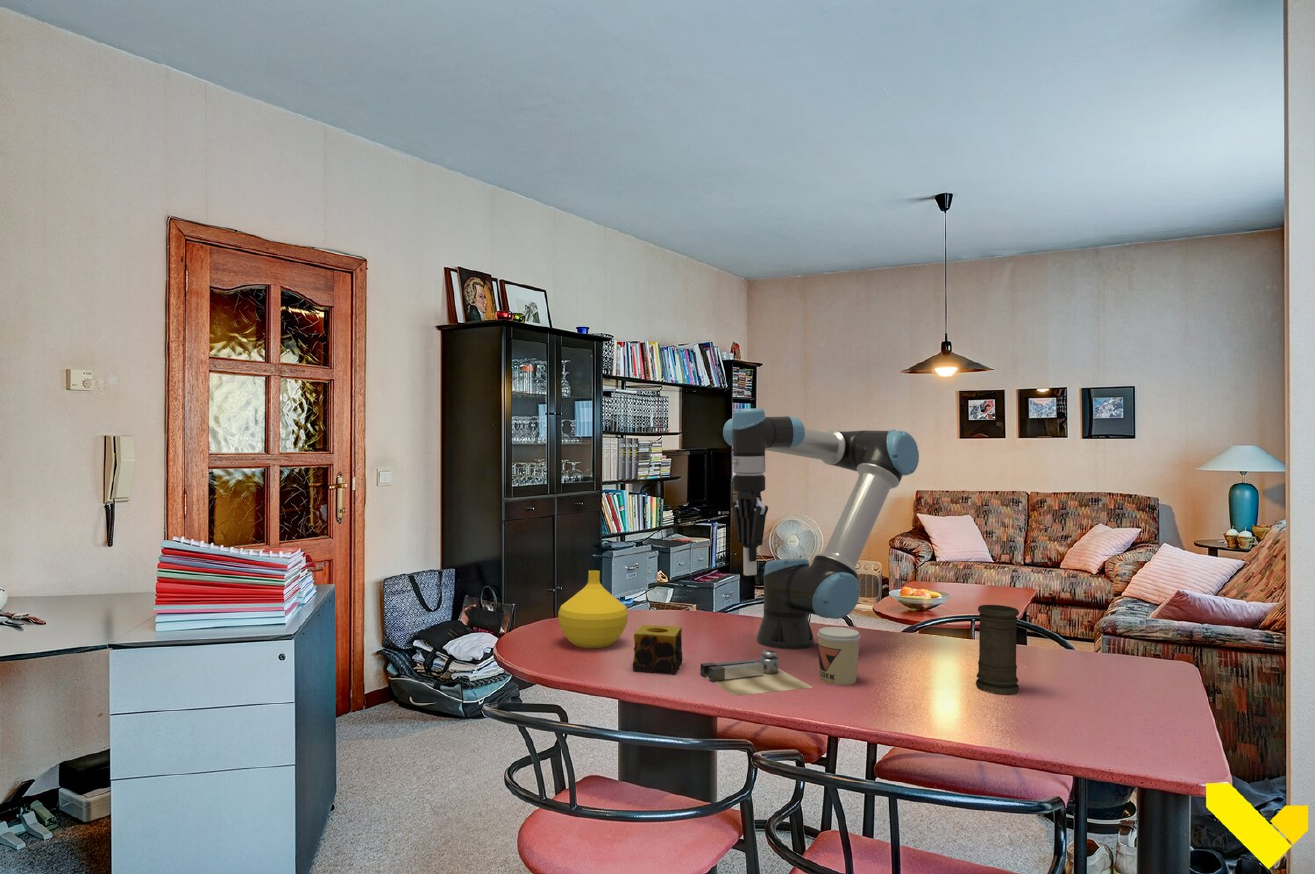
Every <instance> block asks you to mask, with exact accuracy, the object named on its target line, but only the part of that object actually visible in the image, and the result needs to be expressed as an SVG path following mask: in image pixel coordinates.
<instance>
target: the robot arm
mask: <svg viewBox="0 0 1315 874" xmlns="http://www.w3.org/2000/svg"><path fill="white" fill-rule="evenodd" d="M722 437H723V439H724V441H725V442H726V444H728V446H731V447H732V456H733V457H732V462H731V463H732V465H733V466H732V472H733V473H734V474H735V475H733V476H732V477H733V478H732V484H733V485H732V487H733V489H732V490H733V491H734V492H737V498H736V499H737V500H736V501H732V502H731V506H732V511H733V514H734V521H735V524H734V525H735V531H736V532H735V533H736V537H737V543H739V544H741V546H742V548H743V549H742V552H743V553H742V554H743V555H742V556H743V564H742V565H743V572H742V573H743V576H747V577H748V576H756V575H757V572H758V567H757V566H758V565H757V562H758V561H757V558H758V556H757V555H758V552H757V551H758V550H757V548H758V547H759V546H762V545H763V542H764V536H765V535H764V533H765V525H766V519H767V517H766V516H767V513H768V511H769V506H768V505H764V504H763V503H762V501H763V500H762V499H763V498H762V495H761V493H762V492H764V491H765V490H766V476H765V472H766V451H769V452H774V453H780V454H785V455H791V456H793V455H794V456H797V457H804V458H810V459H816V460H821V461H822V462H823V463H824V464H825V465H828V466H832V467H833V466H835V467H838V468H842V469H846V470H849V471H854V472H857V474H858V477H857V480H856V483H855V484H854V486H853V489H852V491H851V492H850V495H849V497H848V500H847V501H846V504H845V506H844V509H843V510H842V512H841V515H840V516H839V519H838V521H837V522H836V526H835V528H834V529H833V532H832V534H831V536H830V538H829V540H828V542H827V545H826V547H825V549H824V551H823V552H822V553H819V554H816V555H815V556H814V558H813V560H812V562H811V565H810V563H809V559H807V558H786V559H785V558H784V559H783V558H782V559H771V560H768V561H767V562H766V563H765V565H764V571H763V572H764V573H763V616H762V619H761V623H760V625H759V627H758V631H757V634H756V643H758V644H759V645H761V646H764V647H768V648H774V649H781V650H804V649H808V648H812V647H814V645H815V638H814V633H813V631H812V627H811V624H810V621H809V614H811V615H815V616H819V617H821V618H825V619H833V620H839V619H842V618H845V617H847V616H848V615H850V614H851V613H852V612H853V611H854V610H855V608H856V606H857V605H858V602H859V599H860V595H861V594H860V593H861V592H859V591H860V589H861V587H860V583H859V580H858V577H859V574H858V573H859V572H858V571H857V569H856V567H857V564H858V562H859V559H860V557H861V556H862V554H863V551H864V549H865V545H866V544H867V541H868V540H869V537H870V535H871V534H872V533H871V532H872V530H873V528H874V526H875V524H876V521H877V519H878V517H879V514H880V512H881V510H882V508H883V506H884V504H885V501H886V499H887V497H888V495H889V493H890V490H892V489H894V488H898V487H899V485H900V482H901V480H902V478H903V476H908V475H911V474H914V472H915V471H916V470H917V468H918V465H919V462H920V461H919V460H920V453H919V449H918V448H919V447H918V443H917V441H916V440H915V438H914V437H913V436H912V435H911V434H910V433H909V432H907V431H904V430H896V429H890V430H853V431H852V430H848V431H847V430H846V431H839V430H832V429H831V430H828V431H826V432H825V431H820V430H813V429H809V428H806V427H805V424H804V423H803V421H802V420H801V419H800V418H798V417H796V416H790V415H787V416H766V413H765V410H764V408H737V409H735V410H734V411H733V413H732V418H730V419H728V420H727V421H726V422H725V424H724V426H723V430H722Z"/></svg>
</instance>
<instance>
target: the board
mask: <svg viewBox="0 0 1315 874" xmlns="http://www.w3.org/2000/svg"><path fill="white" fill-rule="evenodd" d="M706 678H707V679H708V677H706ZM708 680H710V679H708ZM710 681H711V682H712V683H714V684H716V685H717V686H718V687H720V688H722V689H723V690H724V691H726V692H727V693H729V694H731V696H733V697H736V696H737V697H738V696H748V695H756V694H767V693H775V692H776V693H777V692H785V691H795V690H797V691H798V690H805V689H813V688H814V687H813V686H812V685H809V684H807V683H805V682H804V681H802V680H801V679H799V678H797V677H794V676H793V675H791V674H790V673H787V672H785V671H784V670H782V669H780V668H778V674H774V675H767V674H763V675H758V676H750V677H741V678H733V679H725V680H717V681H712V680H710Z"/></svg>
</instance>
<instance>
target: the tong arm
mask: <svg viewBox="0 0 1315 874" xmlns="http://www.w3.org/2000/svg"><path fill="white" fill-rule="evenodd" d="M761 656H763V657H766V658H774V657H777V654H776V651H775V650H771V649H768V650H767V649H765V650H762V655H761ZM763 667H764V664H762V663H760V662H756V663H747V664H738V665H729V666H715V667H709V674H708V678H707V679H708V680H709V679H710V681H711V680H712V681H717V680H725V679H733V678H741V677H750V676H758V675H763ZM712 681H711V682H712Z"/></svg>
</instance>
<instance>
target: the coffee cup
mask: <svg viewBox="0 0 1315 874" xmlns="http://www.w3.org/2000/svg"><path fill="white" fill-rule="evenodd" d="M860 639H861V635H860V632H859V631H858V630H856V629H852V628H848V627H840V626H826V627H821V628H819V629H818V632H817V642H818V643H817V645H818V649H817V651H818V665H819V666H818V667H819V680H820V681H821V682H824V683H826V684H830V685H835V686H836V685H837V686H849V685H854V684H856V682H857V672H858V662H859V653H860V652H859V650H860Z"/></svg>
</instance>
